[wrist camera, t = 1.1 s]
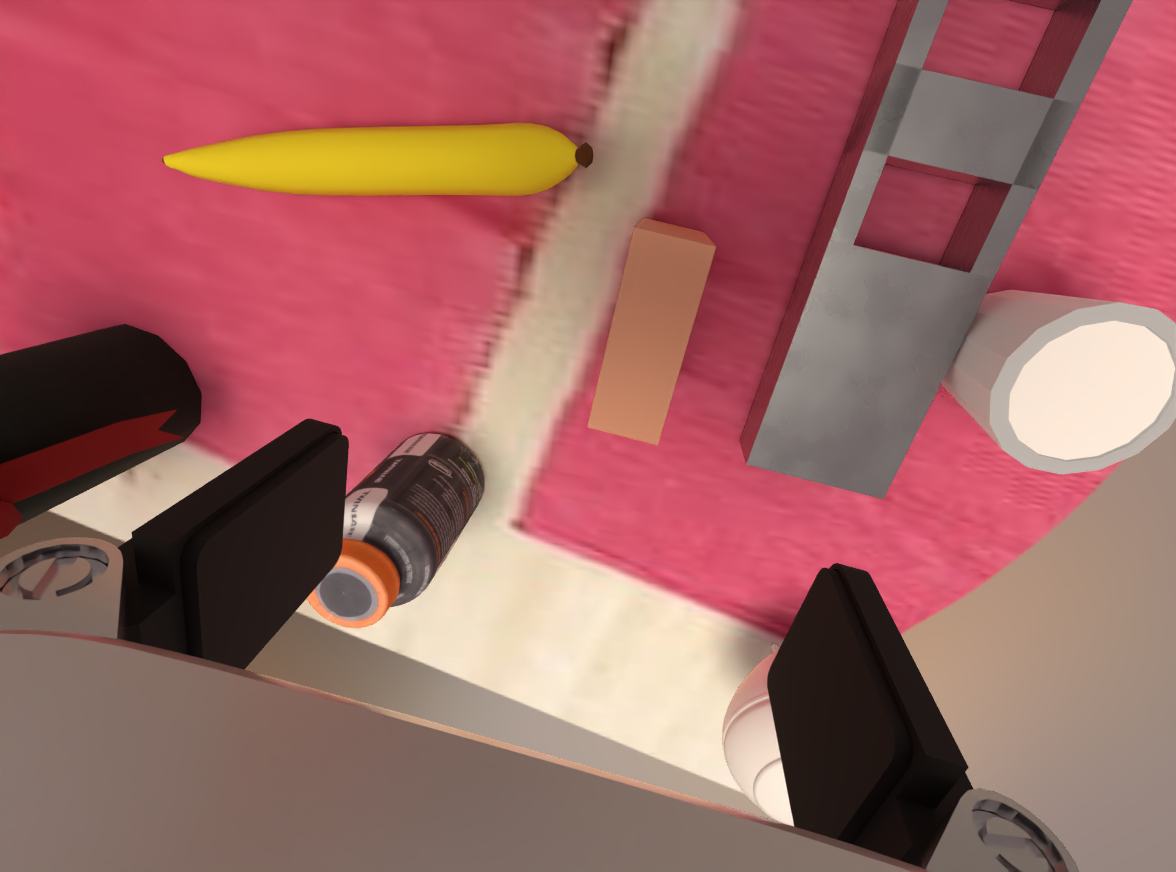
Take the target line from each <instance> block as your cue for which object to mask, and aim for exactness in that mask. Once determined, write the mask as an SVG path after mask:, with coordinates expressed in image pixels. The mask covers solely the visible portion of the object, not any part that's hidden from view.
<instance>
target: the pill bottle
mask: <svg viewBox="0 0 1176 872" xmlns="http://www.w3.org/2000/svg"><path fill="white" fill-rule="evenodd" d="M483 491H484V477H483V473H482V470H481V467H480V465H479V463H478V461H477V459H476V458H475V456H474V455H473V454H472V453H471V452H470V451H469V450H468V449H467V448H466V447H465V446H463V445H462V444H461V443H459V442H458V441H456V440H454V439H452V438H450V437H447V436H445V435H440V434H431V433H425V434H420V435H415V436H413V437H411V438H409V439H406V440H405V441H404V442H402V443H401V444H400V445H399V446H398V447H397V448H396V449H395V450H394V451H393V452H392V453H391V454H389V455H388V456H387V457H386V458H385V459H384V460H383V461H382V462H381V463H380V464H379V465H378V466H377V467H376V468H375V469H374V470H373V471H372V472H371V473H370V474H368V475H367V476H366V477H365V478H364V479H363V480H362V481H361V482H360V483H359V484H358V485H357V486H356V487H355V488H354V489H353V490H352V491H351V492H349V493H348V494H347V495H346V496H345V512H344V528H343V544H342V551H341V555H340V557H339V560H338V562H337V563H336V565H335V566H334V568H333V569H332V570H331V571H330V572H329V573H328V574H327V576H326V577H325V578H324V579H323V580H322V581H321V582H320V584H319V585H318V586H317V587H316V588H315V589H314V590H313V592H312V593H311V594H310V595H309V596H308V597H307V600H308V601H309V603H310V605H311V606H312V607H313V608H314V609H315V610H316V611H317V612H318V613H319V614H320V615H321V616H323V617H324V618H326V619H327V620H329V621H331V622H333V623H336V624H338V625H341V626H345V627H351V628H361V627H367V626H369V625H373V624H375V623H376V622H377V621H379V620H380V619H381V618H382V617H383V616H384V615H385V613H386V612H387V610H388V609H389V607H393V606H398V605H402V604H405V603H407V602H410V601H411V600H413V599H415V598H416V597H417V596H419V595H420V594H421V593H422V592H423V591H424V590H425V589H426V588H427V586H428V585H429V583H430V582H431V580H432V579H433V577H434V575H435V574H436V572H437V571H438V570H439V568H440V567H441V565H442V563H443V562H444V561H445V559H446V557H447V556H448V554H449V552H450V551H451V549H452V547H453V545H454V544H455V542H456V541H457V539H458V537H459V535H460V534H461V532H462V531H463V529H464V527H465V525H466V524H467V522H468V520H469V519H470V517H471V516H472V514H473V512H474V511H475V509H476V507H477V506H478V504H479V502H480V500H481V498H482V495H483Z"/></svg>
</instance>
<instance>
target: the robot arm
mask: <svg viewBox="0 0 1176 872" xmlns="http://www.w3.org/2000/svg"><path fill="white" fill-rule="evenodd" d="M348 448H349V441H348V438H347V437H346V436H344V435H342V432H341V429H340V428H339V427H338V426H335V425H332V424H328V423H324V422H321V421H317V420H313V419H306V420H304V421H302V422H301V423H299V424H298V425H296V426H295V427H293V428H292V429H290V430H288V431H287V432H285V433H284V434H282V435H281V436H279V437H278V438H276V439H275V440H273V441H271V442H270V443H268V444H267V445H265V446H264V447H262V448H261V449H259V450H258V451H256V452H255V453H253V454H251V455H250V456H248V457H247V458H245V459H244V460H242V461H241V462H239V463H238V464H236V465H235V466H233V467H231V468H230V469H228V470H227V471H225V472H224V473H222V474H221V475H219V476H218V477H216V478H214V479H213V480H211V481H210V482H208V483H207V484H205V485H204V486H202V487H201V488H199V489H198V490H196V491H194V492H193V493H191V494H190V495H188V496H187V497H185V498H184V499H182V500H181V501H179V502H178V503H176V504H174V505H173V506H171V507H170V508H168V509H167V510H165V511H164V512H162V513H161V514H159V515H157V516H156V517H154V518H153V519H151V520H150V521H148V522H147V523H145V524H144V525H142V526H141V527H139V528H137V529H136V530H134V531H133V532H132V538H131V539H130V540H128V541H127V542H125V543H124V544H122V545H121V546H120V547H118V548H116V547H115V546H114V545H113V544H111V543H108V542H106V541H103V540H100V539H93V538H84V537H76V538H60V539H55V540H49V541H44V542H39V543H36V544H33V545H30V546H27V547H24V548H21V549H18V550H17V551H14V552H12V553H10V554H8V555H6V556H4V557H3V558H1V559H0V872H1079V870H1078V867H1077V865H1076V863H1075V861H1074V860H1073V858H1072V856H1071V855H1070V854H1069V852H1068V850H1067V849H1066V847H1065V846H1064V845H1063V843H1062V842H1061V841H1060V840H1059V839H1058V838H1057V836H1056V835H1055V834H1054V833H1053V832H1052V831H1051V830H1050V829H1049V828H1048V827H1047V826H1046V825H1045V824H1044V823H1043V822H1042V821H1041V820H1040V819H1038V818H1037V817H1036V816H1035V815H1034V814H1033V813H1031V812H1030V811H1029V810H1027V809H1026V808H1024V807H1023V806H1021V805H1020V804H1018V803H1017V802H1015V801H1014V800H1012V799H1010V798H1008V797H1006V796H1004V795H1002V794H999V793H997V792H995V791H990V790H985V789H981V788H978V789H973V787H972V785H971V783H970V781H969V779H968V778H967V775H966V773H965V771H966V770H967V769H968V765H967V764H966V762H965V760H964V758H963V756H962V754H961V752H960V750H959V748H958V746H957V744H956V742H955V740H954V738H953V736H952V734H951V732H950V730H949V728H948V726H947V724H946V722H945V720H944V718H943V716H942V715H941V713H940V711H939V709H938V707H937V705H936V703H935V701H934V699H933V697H932V695H931V693H930V691H929V689H928V687H927V686H926V683H925V681H924V680H923V677H922V675H921V673H920V672H919V670H918V668H917V666H916V664H915V662H914V660H913V658H912V656H911V654H910V652H909V650H908V648H907V646H906V644H905V642H904V640H903V638H902V636H901V634H900V632H899V630H898V628H897V626H896V625H895V623H894V621H893V619H892V617H891V615H890V613H889V611H888V609H887V607H886V605H885V603H884V601H883V599H882V597H881V595H880V593H879V591H878V589H877V587H876V585H875V583H874V582H873V580H872V578H871V576H870V574H869V573H868V572H866V571H864V570H860V569H856V568H853V567H849V566H845V565H842V564H838V563H836V564H833V565H832V566H831V567H830V568H829V569H828V568H822V569H821V570H820V571H819V573H818V574H817V576H816V578H815V580H814V582H813V584H812V586H811V588H810V590H809V592H808V594H807V596H806V598H805V600H804V602H803V604H802V606H801V608H800V610H799V612H798V614H797V616H796V617H795V619H794V621H793V623H792V625H791V627H790V629H789V631H788V633H787V635H786V637H785V639H784V641H783V643H782V645H781V647H780V649H779V651H778V653H777V655H776V657H775V659H774V660H773V662H772V664H771V666H770V669H769V672H768V677H767V689H768V694H769V699H770V704H771V709H772V714H773V720H774V725H775V730H776V735H777V740H778V746H779V751H780V756H781V761H782V766H783V771H784V777H785V782H786V787H787V792H788V797H789V802H790V808H791V813H792V818H793V823H794V826H790V825H787V824H784V823H781V822H778V821H774V820H771V819H768V818H764V817H761V816H758V815H754V814H751V813H747V812H744V811H741V810H737V809H734V808H730V807H727V806H723V805H720V804H717V803H713V802H710V801H706V800H702V799H699V798H696V797H692V796H689V795H685V794H682V793H679V792H675V791H672V790H669V789H665V788H662V787H658V786H655V785H651V784H648V783H644V782H641V781H637V780H634V779H631V778H627V777H624V776H621V775H617V774H614V773H610V772H607V771H603V770H600V769H596V768H593V767H589V766H586V765H582V764H579V763H575V762H572V761H568V760H565V759H561V758H558V757H554V756H551V755H547V754H543V753H540V752H537V751H533V750H530V749H526V748H523V747H519V746H516V745H512V744H509V743H505V742H502V741H498V740H494V739H491V738H488V737H484V736H481V735H477V734H473V733H470V732H467V731H463V730H460V729H456V728H452V727H449V726H445V725H441V724H438V723H435V722H431V721H428V720H424V719H421V718H417V717H414V716H410V715H406V714H403V713H399V712H395V711H392V710H388V709H385V708H381V707H378V706H374V705H371V704H367V703H363V702H360V701H356V700H352V699H349V698H345V697H342V696H338V695H335V694H331V693H327V692H324V691H320V690H316V689H313V688H309V687H306V686H302V685H299V684H295V683H292V682H288V681H284V680H281V679H277V678H274V677H270V676H266V675H262V674H259V673H255V672H251V671H247V670H244V669H245V668H246V667H247V666H248V665H249V663H250V662H251V661H252V660H253V659H254V658H255V657H256V655H257V654H258V653H259V652H260V651H261V650H262V649H263V648H264V646H265V645H266V644H267V643H268V642H269V640H271V638H272V637H273V636H274V635H275V634H276V633H277V632H278V630H279V629H280V628H281V627H282V626H283V625H284V623H285V622H286V621H287V620H288V619H289V618H290V617H291V616H292V614H293V613H294V612H295V611H296V610H297V609H298V608H299V606H300V605H301V604H302V603H303V602H304V601H305V600H306V598H307V597H308V596H309V595H310V594H311V593H312V592H313V590H314V589H315V588H316V587H317V586H318V585H319V584H320V582H321V581H322V580H323V579H324V578H325V577H326V576H327V574H328V573H329V572H330V571H331V570H332V569H333V568H334V566H335V565H336V563H337V562H338V560H339V557H340V555H341V551H342V544H343V528H344V512H345V496H346V480H347V464H348Z"/></svg>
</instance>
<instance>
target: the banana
mask: <svg viewBox="0 0 1176 872" xmlns="http://www.w3.org/2000/svg"><path fill="white" fill-rule="evenodd" d="M162 161H163V163H164V164H166V165H167V166H168V167H170V168H173V169H177V170H179V171H182V172H184V173H187V174H189V175H191V176H194V177H197V178H202V179H206V180H211V181H216V182H220V183H225V184H230V185H235V186H241V187H246V188H252V189H257V190H262V191H271V192H281V193H290V194H304V195H355V196H376V195H500V196H521V195H529V194H536V193H539V192H541V191H544V190H547V189H550V188H551V187H553V186H555V185H556V184H558V183H559V182H561V181H562V180H564V179H565V178H566V177H568V176H569V175H570V174H571V173H572V172H573V171H574V170H575V169H576V167H577V166H578V165H579V164H581V165H582V166H584V167H585V168H587V167H588V166H589V165H590V164H591V163H592V161H593V150H592V147H591V146H590V145H589V144H587V143H584V144H583V145H581V147H580V148H578V147H577V146H576V145H575V144H574V143H572V142H571V141H570V140H569V139H568V138H567V137H566V136H564V135H563V134H562V133H560V132H558V131H556V130H554V129H552V128H550V127H547V126H543V125H538V124H534V123H505V124H485V125H452V126H400V127H351V128H322V129H308V130H294V131H283V132H276V133H268V134H261V135H254V136H248V137H243V138H239V139H234V140H229V141H224V142H219V143H214V144H210V145H205V146H201V147H196V148H192V149H187V150H184V151H180V152H177V153H173V154H169V155H165V157H164V158H163V159H162Z"/></svg>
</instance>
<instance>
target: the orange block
mask: <svg viewBox="0 0 1176 872" xmlns="http://www.w3.org/2000/svg"><path fill="white" fill-rule="evenodd" d="M715 249H716V246H715V245H714V244H713V242H712V241H711V240H710V239H709V237H708V236H707V235H706V234H705V232H702V231H698V230H694V229H689V228H685V227H681V226H677V225H673V224H668V223H664V222H660V221H656V220H652V219H647V218H643V219H642V220H641V221H640V222H639V223H638V224H637V225H636V226H635V227H634V230H633V234H632V239H631V243H630V247H629V251H628V256H627V260H626V264H625V268H624V273H623V277H622V281H621V286H620V290H619V294H618V298H617V303H616V307H615V311H614V315H613V320H612V324H611V328H610V332H609V337H608V341H607V345H606V350H605V354H604V358H603V362H602V367H601V371H600V375H599V379H598V384H597V388H596V392H595V396H594V401H593V405H592V409H591V414H590V418H589V422H588V426H587V427H588V428H592V429H596V430H600V431H604V432H607V433H611V434H615V435H619V436H623V437H627V438H631V439H635V440H639V441H643V442H647V443H651V444H655V445H658V442H659V439H660V436H661V432H662V429H663V426H664V422H665V419H666V415H667V412H668V409H669V405H670V402H671V398H672V395H673V392H674V388H675V385H676V381H677V378H678V375H679V371H680V368H681V364H682V361H683V358H684V354H685V351H686V347H687V344H688V341H689V337H690V334H691V331H692V327H693V324H694V320H695V317H696V314H697V310H698V307H699V303H700V300H701V297H702V293H703V290H704V286H705V283H706V280H707V276H708V273H709V269H710V266H711V263H712V259H713V256H714V253H715Z"/></svg>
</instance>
